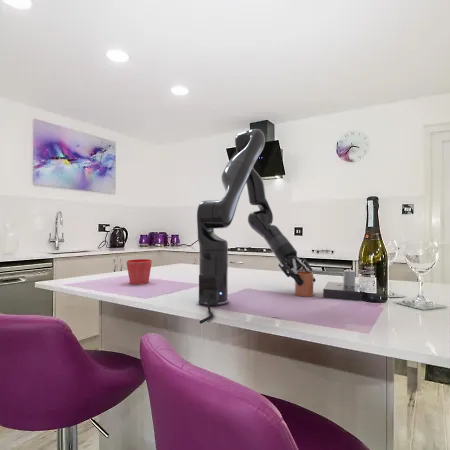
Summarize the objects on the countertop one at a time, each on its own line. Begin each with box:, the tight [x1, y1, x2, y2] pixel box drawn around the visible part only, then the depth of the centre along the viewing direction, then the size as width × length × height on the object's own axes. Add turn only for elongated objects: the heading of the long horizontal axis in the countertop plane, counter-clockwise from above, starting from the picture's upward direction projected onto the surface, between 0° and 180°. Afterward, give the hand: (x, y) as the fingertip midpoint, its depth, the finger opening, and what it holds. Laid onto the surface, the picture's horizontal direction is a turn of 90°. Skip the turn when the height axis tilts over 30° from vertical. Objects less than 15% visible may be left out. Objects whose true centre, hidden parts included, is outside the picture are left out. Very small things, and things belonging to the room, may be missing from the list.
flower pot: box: [126, 258, 153, 285], centre depth 144 cm, size 11×11×10 cm
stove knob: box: [343, 268, 356, 287], centre depth 121 cm, size 4×4×6 cm
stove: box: [322, 281, 362, 302], centre depth 120 cm, size 16×12×3 cm
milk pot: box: [294, 270, 314, 298], centre depth 120 cm, size 6×6×8 cm
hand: (307, 283), depth 119 cm, fingers closed on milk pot, 6 cm apart
